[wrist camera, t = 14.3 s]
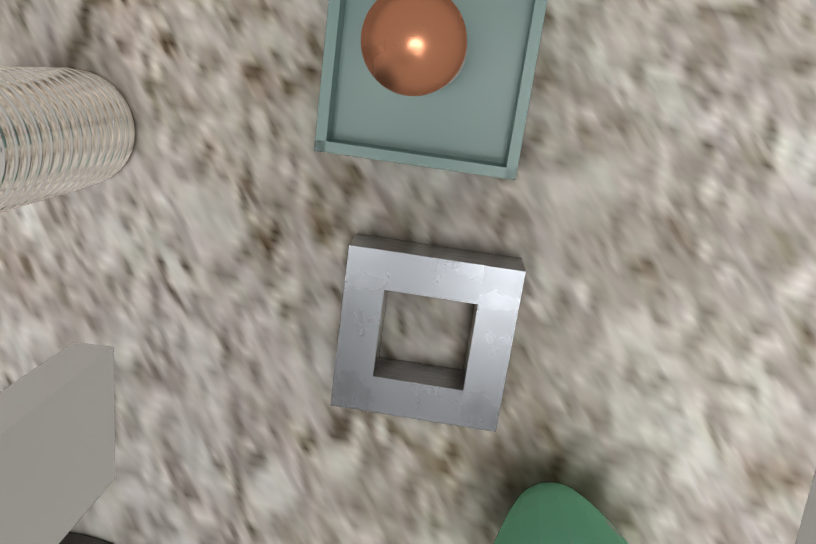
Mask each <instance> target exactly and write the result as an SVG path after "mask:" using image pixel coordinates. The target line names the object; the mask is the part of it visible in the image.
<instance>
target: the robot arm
mask: <svg viewBox="0 0 816 544" xmlns="http://www.w3.org/2000/svg"><path fill="white" fill-rule="evenodd" d="M114 479H115V409H114V347H111V346H102V345H93V344H85V343H76V342H73V343H72V344H70V345H69V346H67V347H66V348H64V349H63V350H61V351H60V352H59V353H57V354H56V355H54V356H53V357H51V358H50V359H48V360H47V361H45V362H44V363H42V364H41V365H39V366H38V367H36V368H35V369H34V370H32V371H31V372H29V373H28V374H26V375H25V376H23V377H22V378H20V379H19V380H17V381H16V382H14V383H13V384H12V385H10V386H9V387H7V388H6V389H4V390H3V391H1V392H0V544H109V543H106V542H104V541H101V540H98V539H95V538H92V537H88V536H84V535H79V534H71V533H68V532H69V531H70V530H71V529H72V528H73V527H74V525H75V524H76V523H77V522H78V521H79V520H80V518H81V517H82V516H83V515H84V514H85V513H86V511H87V510H88V509H89V508H90V507H91V506H92V504H93V503H94V502H95V501H96V500H97V499H98V497H99V496H100V495H101V494H102V493H103V492H104V490H105V489H106V488H107V487H108V486H109V485H110V483H111V482H112V481H113V480H114ZM795 544H816V469H815V473H814V476H813V480H812V484H811V487H810V491H809V495H808V498H807V502H806V506H805V509H804V513H803V517H802V521H801V524H800V528H799V532H798V535H797V539H796V543H795Z"/></svg>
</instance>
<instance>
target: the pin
mask: <svg viewBox="0 0 816 544" xmlns="http://www.w3.org/2000/svg"><path fill="white" fill-rule="evenodd" d="M361 50H362V55H363V58H364V61H365V64H366V66H367V68H368V70H369V71H370V73H371V74H372V76H373V77H374V78H375V79H376V80H377V81H378V82H379V83H380V84H381V85H382V86H384V87H385V88H387V89H388V90H390V91H392V92H395V93H397V94H401V95H405V96H422V95H427V94H430V93H433V92H435V91H437V90H439V89H441V88H443V87H445V86H447V85H449V84H450V83H452V82H453V81H454V80H455V79H456V78H457V77H458V76H459V75H460V73H461V72H462V70H463V68H464V66H465V63H466V59H467V32H466V26H465V23H464V20H463V17H462V15H461V13H460V11H459V10H458V8H457V6H456V5H455V4H454V3H453V2H452V0H377V1H376V2H375V3H374V4H373V5H372V7H371V8H370V10H369V11H368V13H367V15H366V17H365V19H364V23H363V26H362V31H361Z"/></svg>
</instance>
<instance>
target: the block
mask: <svg viewBox="0 0 816 544" xmlns="http://www.w3.org/2000/svg"><path fill="white" fill-rule="evenodd" d="M525 273H526V271H525V268H524V265H523V261H522V259H521V258H514V257H508V256H501V255H494V254H488V253H481V252H475V251H468V250H461V249H455V248H448V247H441V246H435V245H428V244H422V243H415V242H408V241H402V240H395V239H388V238H382V237H375V236H368V235H362V234H356V236H355V237H354V239H353V240H352V242H351V243H350V244H349V250H348V258H347V267H346V276H345V284H344V293H343V302H342V310H341V319H340V328H339V336H338V345H337V353H336V362H335V371H334V379H333V388H332V397H331V405H332V406H338V407H345V408H351V409H357V410H363V411H369V412H376V413H382V414H388V415H394V416H400V417H407V418H413V419H419V420H425V421H432V422H438V423H444V424H450V425H456V426H463V427H469V428H475V429H481V430H487V431H494V432H496V427H497V422H498V416H499V411H500V406H501V400H502V395H503V390H504V384H505V379H506V374H507V368H508V363H509V358H510V352H511V347H512V342H513V336H514V331H515V326H516V320H517V315H518V310H519V304H520V299H521V294H522V289H523V283H524V278H525ZM388 291H394V292H401V293H407V294H414V295H420V296H427V297H433V298H440V299H446V300H453V301H459V302H466V303H472V304H475V306H474V312H473V318H472V324H471V330H470V336H469V342H468V348H467V353H466V359H465V365H464V370H457V369H451V368H445V367H438V366H432V365H426V364H419V363H413V362H407V361H400V360H394V359H388V358H381V357H379V352H380V345H381V337H382V330H383V322H384V315H385V307H386V300H387V292H388Z"/></svg>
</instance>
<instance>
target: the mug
mask: <svg viewBox="0 0 816 544" xmlns="http://www.w3.org/2000/svg"><path fill="white" fill-rule="evenodd" d="M494 544H628V543H627V541H626V540H625V539H624V538H623V536H622V535H621V534H620V533H619V531H618V530H617V529H616V528H615V527H614V526H613V524H612V523H611V522H610V521H609V520H608V519H607V518H606V517H605V516H604V515H603V514H602V513H601V512H600V511H599V510H598V509H597V508H595V507H594V506H593V505H592V504H591V503H590V502H589V501H588V500H587V499H585V498H584V497H583V496H581V495H580V494H579V493H577V492H576V491H575V490H573V489H572V488H570V487H568V486H565V485H563V484H560V483H553V482H547V483H539V484H536V485H534V486H532V487H530V488H528V489H526V490H525V491H524V492H523V493H522V494H521V495H520V496H519V497H518V499H517V500H516V502H515V503H514V505H513V506H512V508H511V509H510V511H509V513H508V515H507V517H506V519H505V521H504V522H503V524H502V527H501V529H500V531H499V533H498V535H497V537H496V540H495V542H494Z"/></svg>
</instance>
